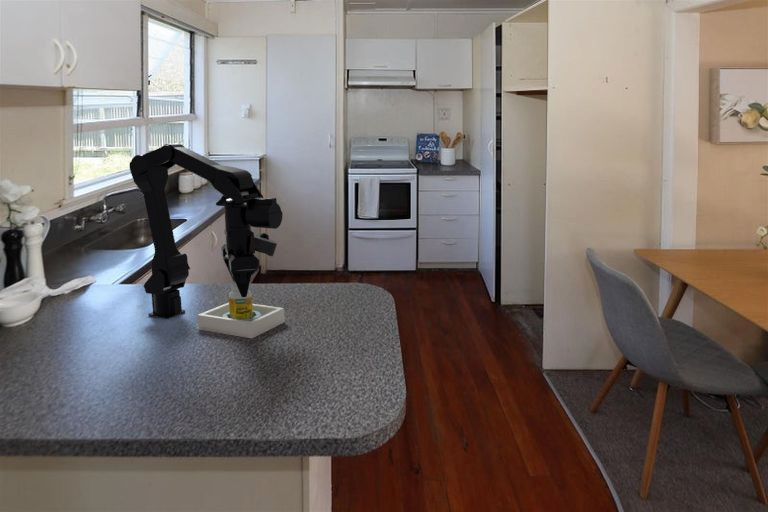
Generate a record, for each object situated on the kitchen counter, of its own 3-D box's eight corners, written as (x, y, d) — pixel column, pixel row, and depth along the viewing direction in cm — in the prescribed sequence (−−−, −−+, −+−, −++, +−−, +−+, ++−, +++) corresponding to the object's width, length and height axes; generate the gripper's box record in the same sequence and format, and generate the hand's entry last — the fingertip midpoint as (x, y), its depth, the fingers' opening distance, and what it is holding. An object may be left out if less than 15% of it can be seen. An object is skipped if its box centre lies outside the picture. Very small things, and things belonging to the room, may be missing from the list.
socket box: (198, 329, 152) (197, 314, 151) (233, 314, 163) (232, 300, 163) (252, 338, 146) (251, 323, 145) (284, 322, 157) (283, 308, 156)
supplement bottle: (248, 317, 158) (246, 279, 156) (256, 323, 153) (255, 283, 151) (226, 321, 155) (224, 282, 153) (234, 327, 151) (232, 287, 149)
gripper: (281, 230, 144) (283, 299, 147) (266, 218, 161) (268, 280, 164) (229, 233, 140) (233, 303, 143) (219, 220, 157) (222, 283, 160)
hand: (241, 292), depth 153 cm, fingers open, 9 cm apart
